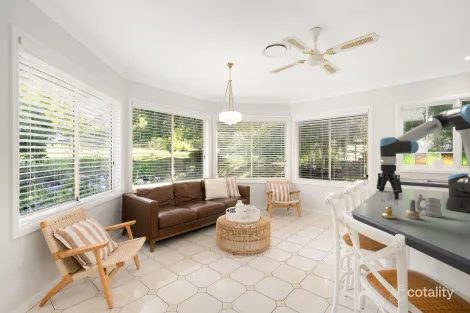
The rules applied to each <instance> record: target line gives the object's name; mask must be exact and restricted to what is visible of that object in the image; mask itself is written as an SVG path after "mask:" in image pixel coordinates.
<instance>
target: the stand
mask: <svg viewBox="0 0 470 313" xmlns="http://www.w3.org/2000/svg"><path fill="white" fill-rule="evenodd" d="M405 212H406V214H405V216H406V218H407V219H409V218H410V220H420V219H421V218H420V217H421V214H420V213H421V212H420V211H418V210H417V209H416V200H414V199H409V209H406V210H405Z"/></svg>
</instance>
